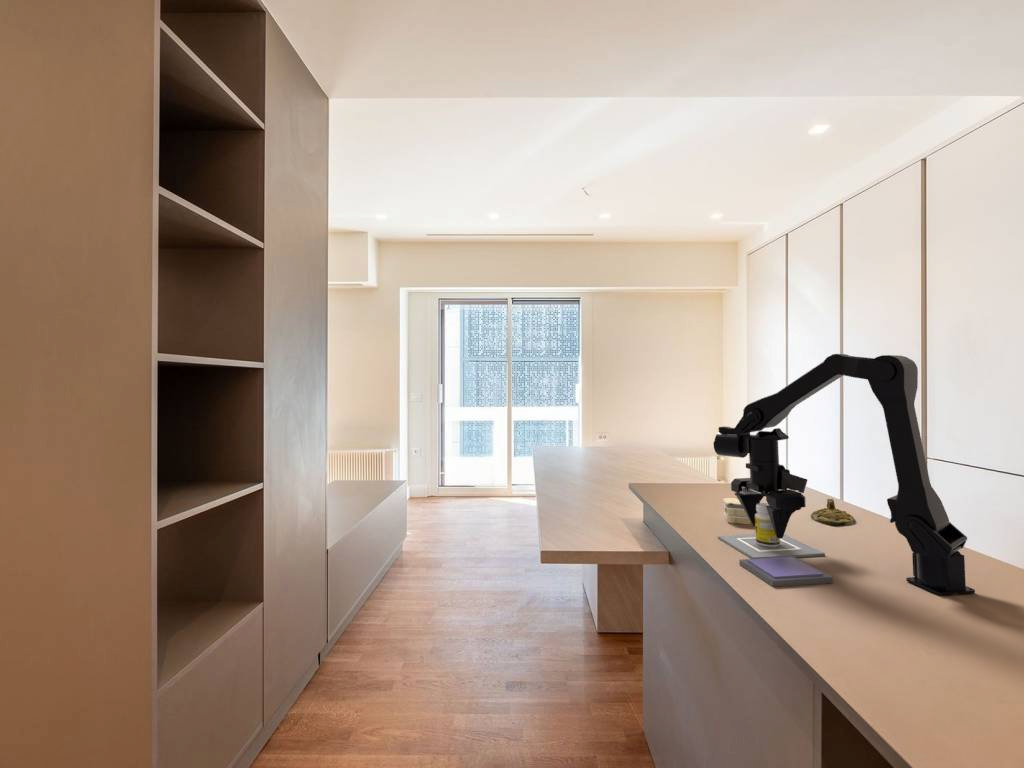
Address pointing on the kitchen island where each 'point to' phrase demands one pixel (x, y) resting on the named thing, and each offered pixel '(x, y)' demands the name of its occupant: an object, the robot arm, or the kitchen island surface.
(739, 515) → the cream tiered block
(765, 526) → the supplement bottle
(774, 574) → the pad
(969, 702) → the kitchen island surface
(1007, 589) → the kitchen island surface
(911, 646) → the kitchen island surface
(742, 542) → the board
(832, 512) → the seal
